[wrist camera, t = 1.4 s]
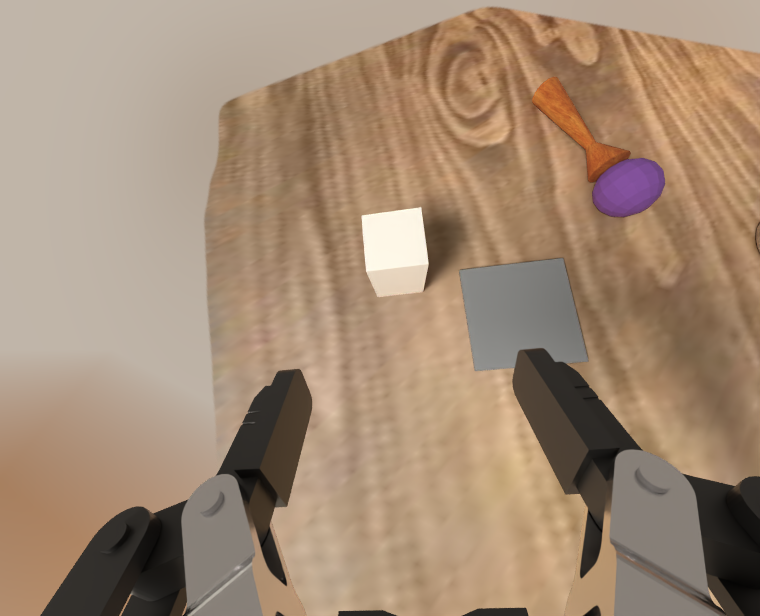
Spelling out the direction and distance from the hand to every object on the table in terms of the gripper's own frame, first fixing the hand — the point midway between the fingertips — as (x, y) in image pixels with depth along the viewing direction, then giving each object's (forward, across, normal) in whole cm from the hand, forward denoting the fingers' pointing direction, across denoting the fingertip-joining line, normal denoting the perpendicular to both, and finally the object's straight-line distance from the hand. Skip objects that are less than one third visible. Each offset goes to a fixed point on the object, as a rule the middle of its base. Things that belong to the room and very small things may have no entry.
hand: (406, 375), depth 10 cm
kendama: (+33, -25, -2) cm, 41 cm away
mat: (+19, -14, +12) cm, 26 cm away
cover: (+24, 0, +7) cm, 25 cm away
